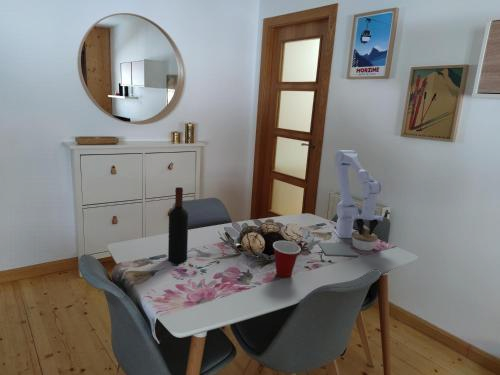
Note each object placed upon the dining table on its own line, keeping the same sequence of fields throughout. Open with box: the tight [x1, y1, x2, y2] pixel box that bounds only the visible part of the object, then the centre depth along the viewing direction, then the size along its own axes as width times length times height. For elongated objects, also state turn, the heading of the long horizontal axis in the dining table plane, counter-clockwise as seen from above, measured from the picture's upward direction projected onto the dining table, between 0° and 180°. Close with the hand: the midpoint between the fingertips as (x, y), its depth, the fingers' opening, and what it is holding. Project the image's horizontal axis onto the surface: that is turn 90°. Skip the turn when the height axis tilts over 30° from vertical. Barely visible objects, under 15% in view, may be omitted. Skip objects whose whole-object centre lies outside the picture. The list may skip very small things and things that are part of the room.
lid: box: [351, 225, 378, 242], centre depth 179 cm, size 12×12×5 cm
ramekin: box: [351, 237, 377, 252], centre depth 180 cm, size 11×11×5 cm
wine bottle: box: [167, 186, 189, 264], centre depth 150 cm, size 8×8×30 cm
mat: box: [317, 242, 357, 257], centre depth 175 cm, size 14×14×1 cm
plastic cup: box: [272, 240, 302, 279], centre depth 145 cm, size 11×11×12 cm
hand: (364, 234), depth 179 cm, fingers open, 4 cm apart
